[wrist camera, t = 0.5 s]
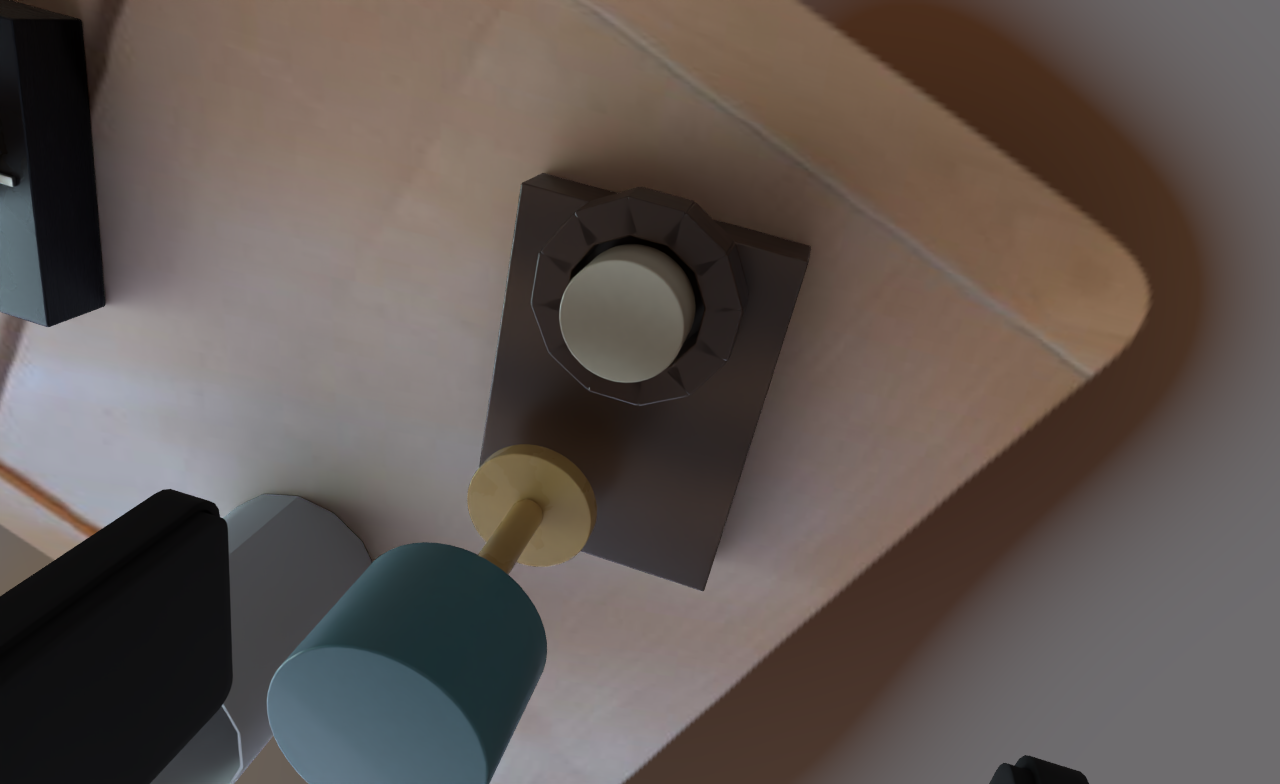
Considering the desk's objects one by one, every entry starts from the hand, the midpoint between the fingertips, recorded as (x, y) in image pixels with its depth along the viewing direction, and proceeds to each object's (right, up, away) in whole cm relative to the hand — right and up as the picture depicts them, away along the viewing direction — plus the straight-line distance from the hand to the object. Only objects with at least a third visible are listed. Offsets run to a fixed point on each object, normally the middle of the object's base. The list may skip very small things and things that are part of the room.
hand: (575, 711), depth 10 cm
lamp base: (+1, +4, +23) cm, 23 cm away
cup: (-16, -5, +31) cm, 35 cm away
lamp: (-3, 0, +21) cm, 21 cm away
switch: (+1, +7, +18) cm, 19 cm away
